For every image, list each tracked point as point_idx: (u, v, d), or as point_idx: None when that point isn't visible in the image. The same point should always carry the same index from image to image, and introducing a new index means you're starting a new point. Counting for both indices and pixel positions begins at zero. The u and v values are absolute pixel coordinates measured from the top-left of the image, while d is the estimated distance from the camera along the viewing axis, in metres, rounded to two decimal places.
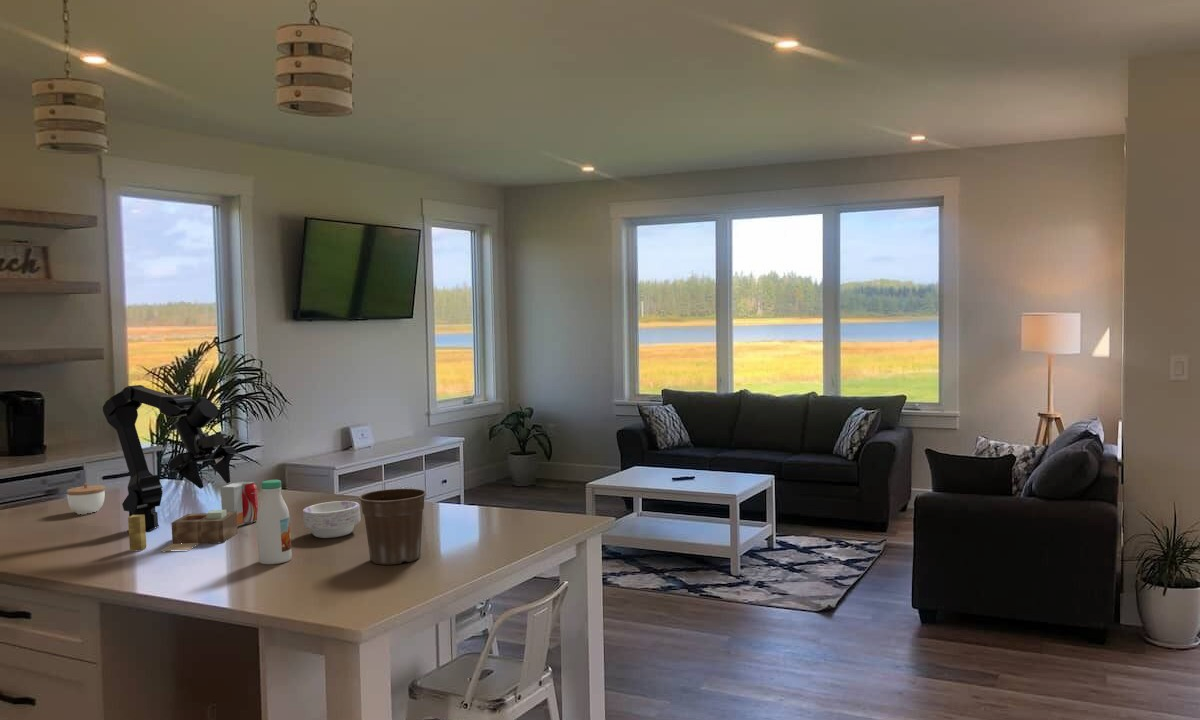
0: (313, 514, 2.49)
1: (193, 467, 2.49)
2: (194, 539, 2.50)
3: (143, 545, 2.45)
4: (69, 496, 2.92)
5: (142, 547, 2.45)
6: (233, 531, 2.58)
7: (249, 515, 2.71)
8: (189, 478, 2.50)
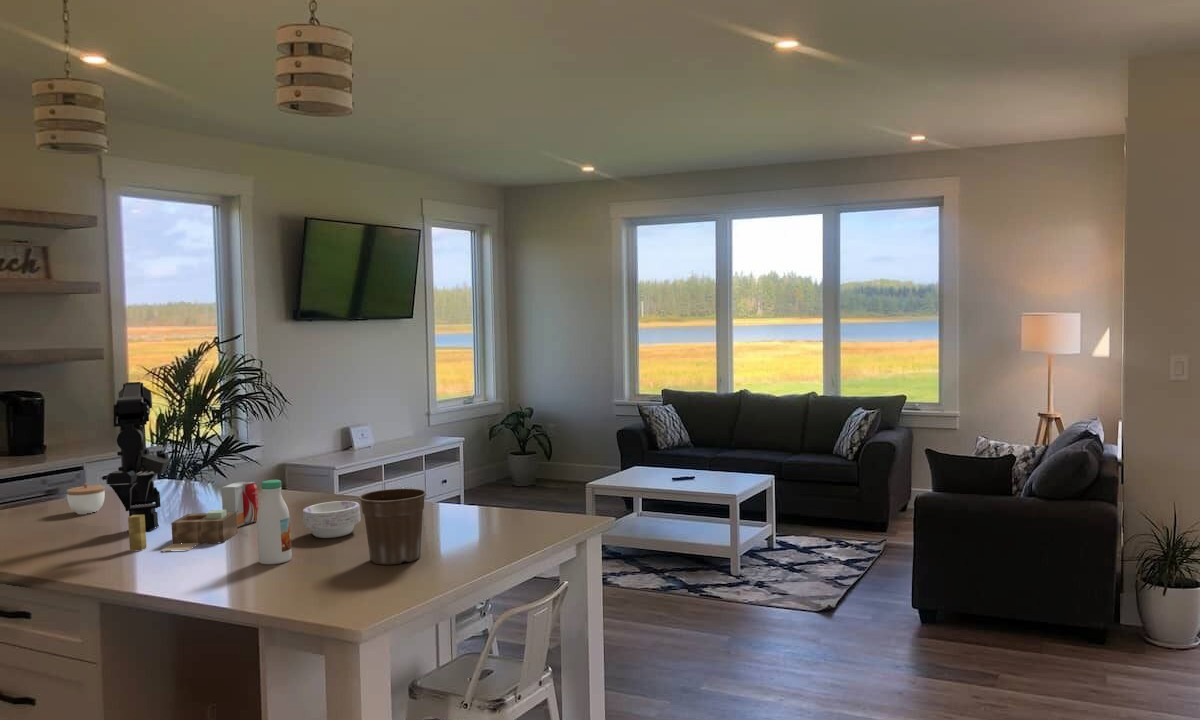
0: (313, 514, 2.49)
1: (131, 487, 2.39)
2: (194, 539, 2.50)
3: (143, 545, 2.45)
4: (69, 496, 2.92)
5: (142, 547, 2.45)
6: (233, 531, 2.58)
7: (249, 515, 2.71)
8: (119, 495, 2.39)
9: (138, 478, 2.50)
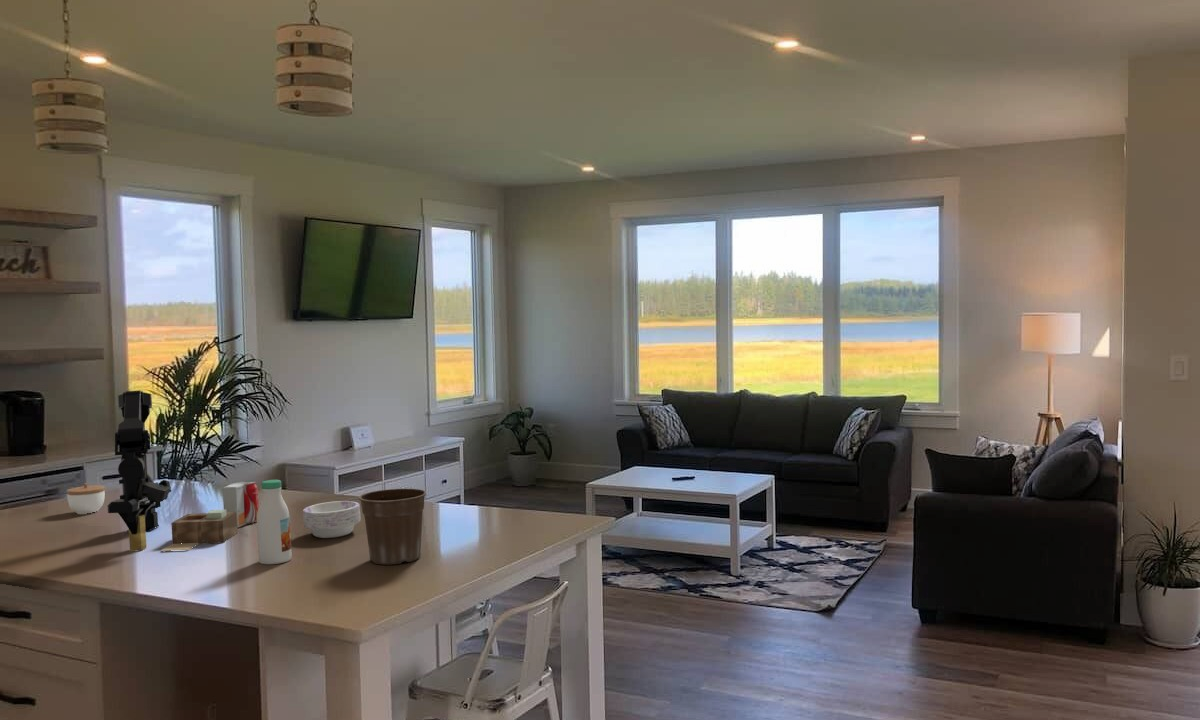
0: (313, 514, 2.49)
1: (138, 513, 2.42)
2: (194, 539, 2.50)
3: (143, 545, 2.45)
4: (69, 496, 2.92)
5: (142, 547, 2.45)
6: (233, 531, 2.58)
7: (250, 515, 2.71)
8: (126, 520, 2.42)
9: None
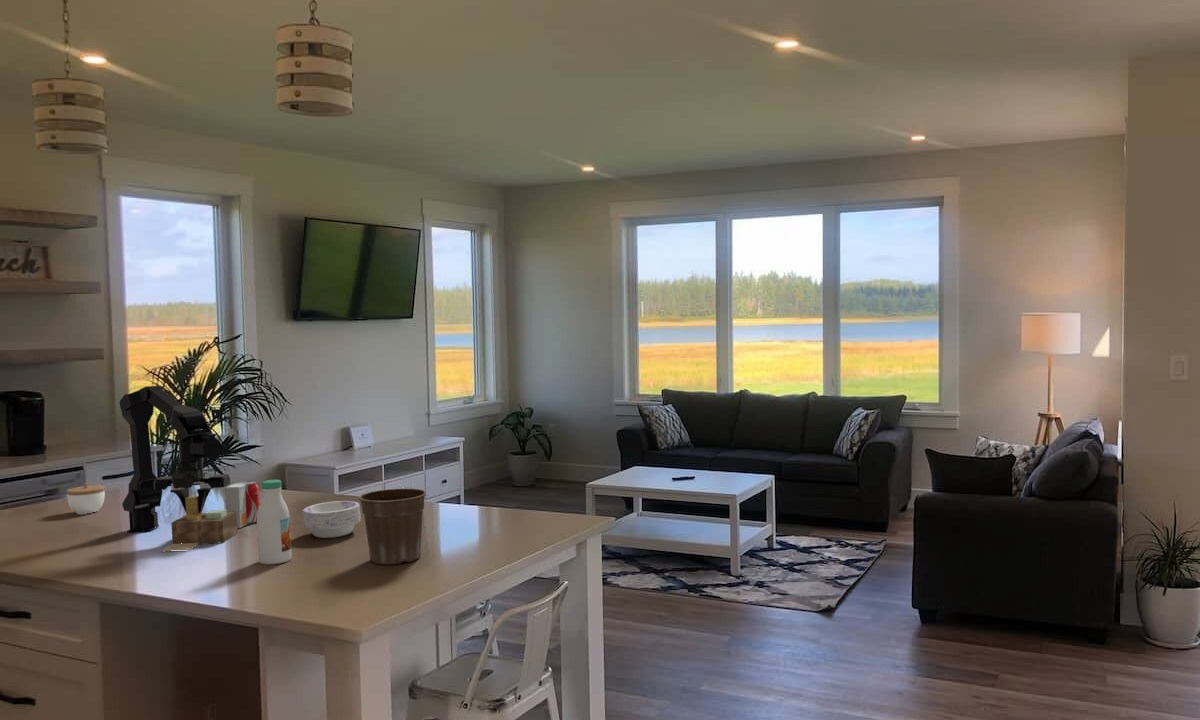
0: (313, 514, 2.49)
1: (179, 494, 2.52)
2: (194, 539, 2.50)
3: None
4: (69, 496, 2.92)
5: None
6: (233, 531, 2.58)
7: (252, 515, 2.71)
8: None
9: None
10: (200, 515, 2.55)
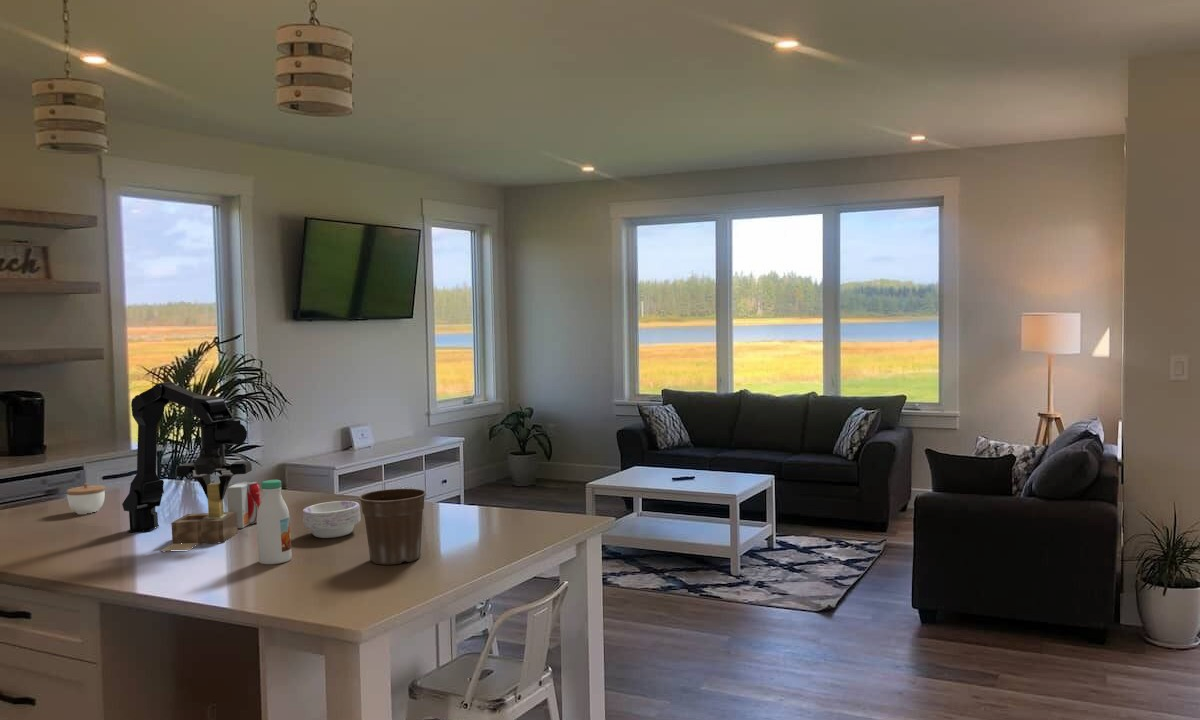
0: (313, 514, 2.49)
1: (200, 481, 2.53)
2: (194, 539, 2.50)
3: (212, 513, 2.53)
4: (69, 496, 2.92)
5: (210, 514, 2.53)
6: (233, 531, 2.58)
7: (254, 515, 2.71)
8: None
9: None
10: (221, 502, 2.55)
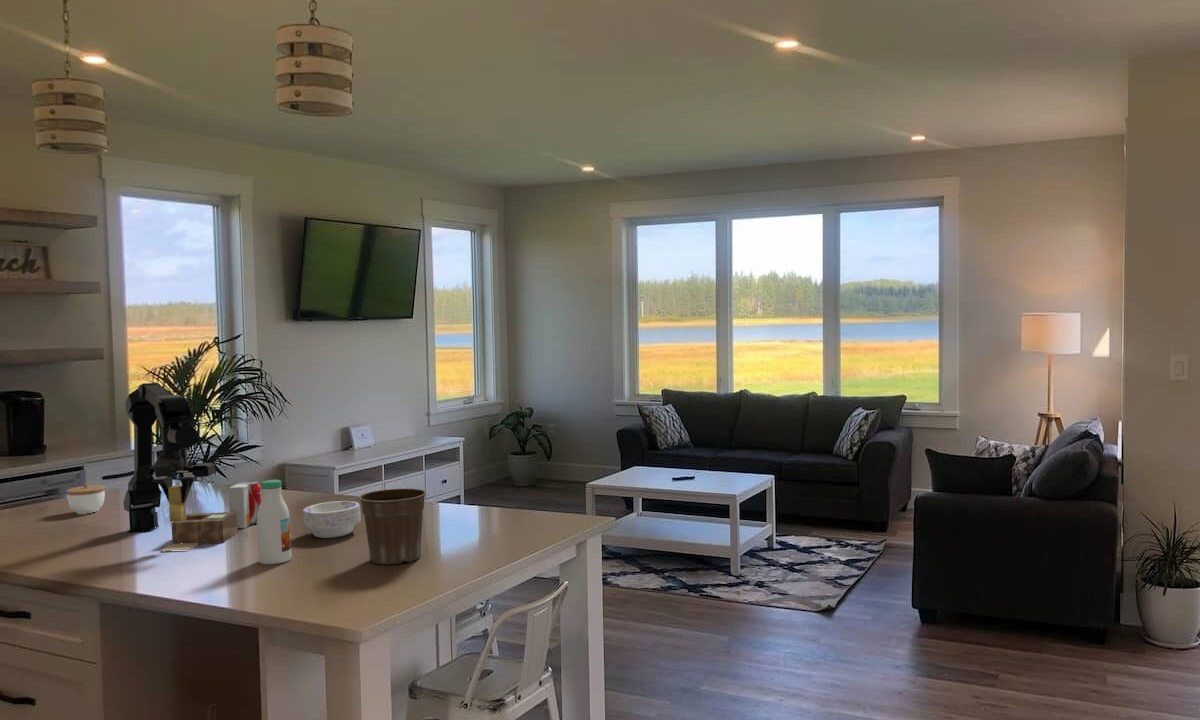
0: (313, 514, 2.49)
1: (161, 483, 2.43)
2: (194, 539, 2.50)
3: (173, 517, 2.44)
4: (69, 496, 2.92)
5: (172, 518, 2.44)
6: (233, 531, 2.58)
7: (255, 515, 2.71)
8: None
9: None
10: (184, 505, 2.46)
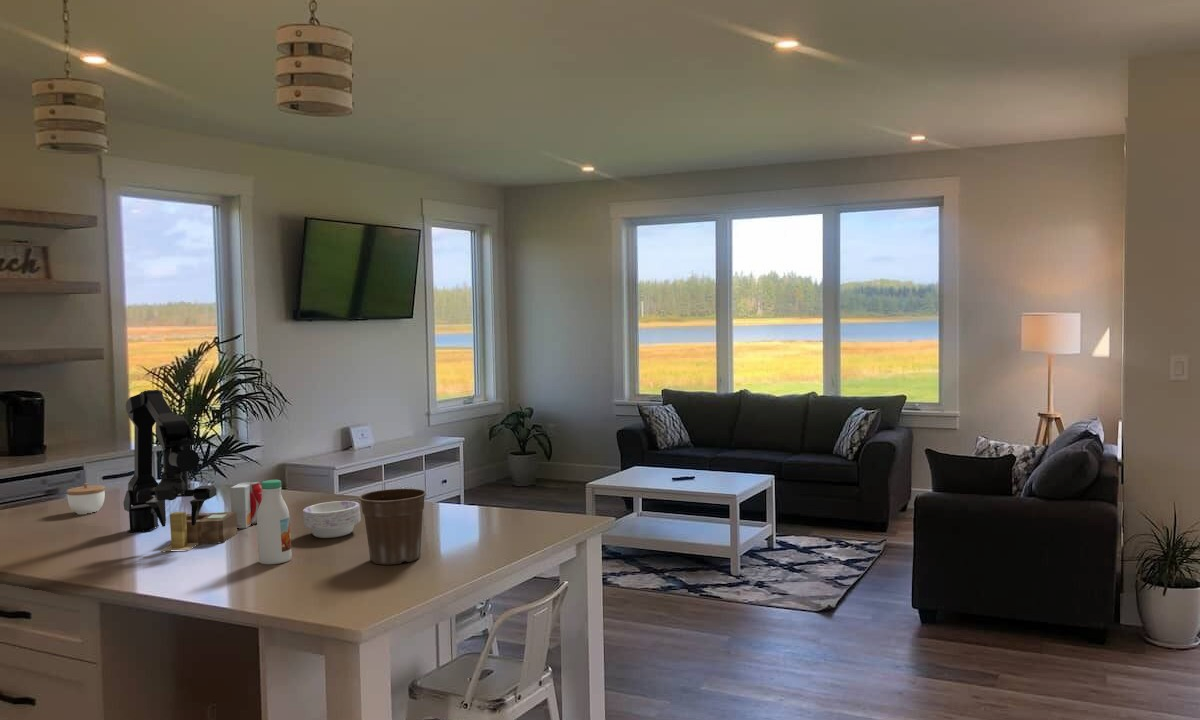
0: (313, 514, 2.49)
1: (154, 506, 2.43)
2: (194, 539, 2.50)
3: (175, 543, 2.44)
4: (69, 496, 2.92)
5: (173, 545, 2.44)
6: (233, 531, 2.58)
7: (256, 515, 2.71)
8: None
9: None
10: (185, 532, 2.46)
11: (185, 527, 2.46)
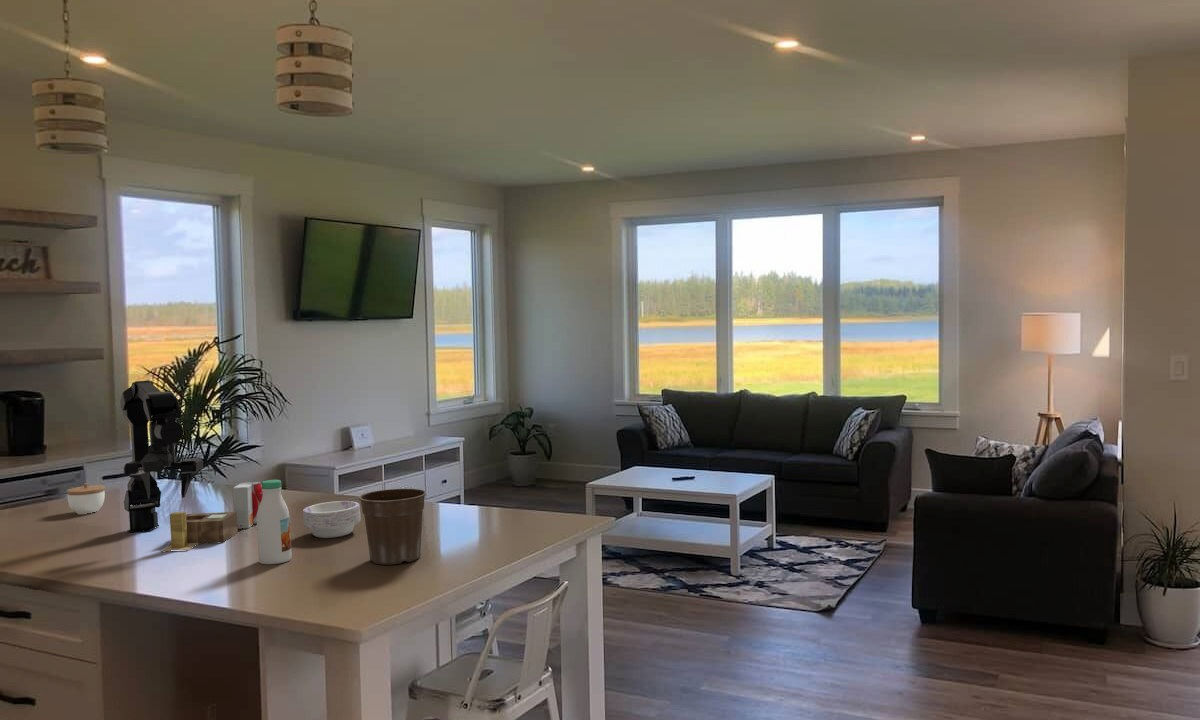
0: (313, 514, 2.49)
1: (138, 479, 2.45)
2: (194, 539, 2.50)
3: (175, 543, 2.44)
4: (69, 496, 2.92)
5: (173, 545, 2.44)
6: (233, 531, 2.58)
7: None
8: None
9: None
10: (185, 532, 2.46)
11: (185, 527, 2.46)
